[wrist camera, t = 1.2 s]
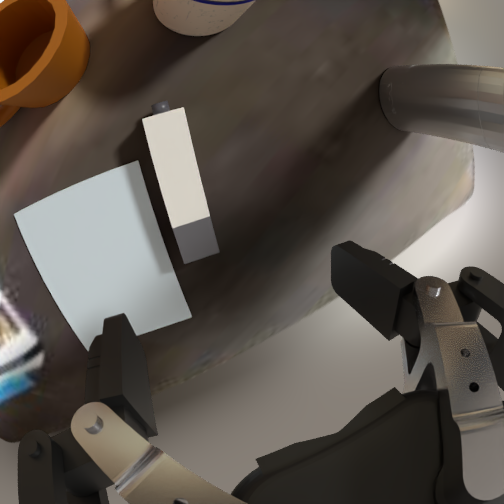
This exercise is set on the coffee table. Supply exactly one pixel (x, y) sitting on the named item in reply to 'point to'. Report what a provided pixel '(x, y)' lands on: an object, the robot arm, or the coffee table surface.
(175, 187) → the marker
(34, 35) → the mug
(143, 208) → the paper pad
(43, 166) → the coffee table surface
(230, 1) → the teacup with lid
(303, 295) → the coffee table surface
